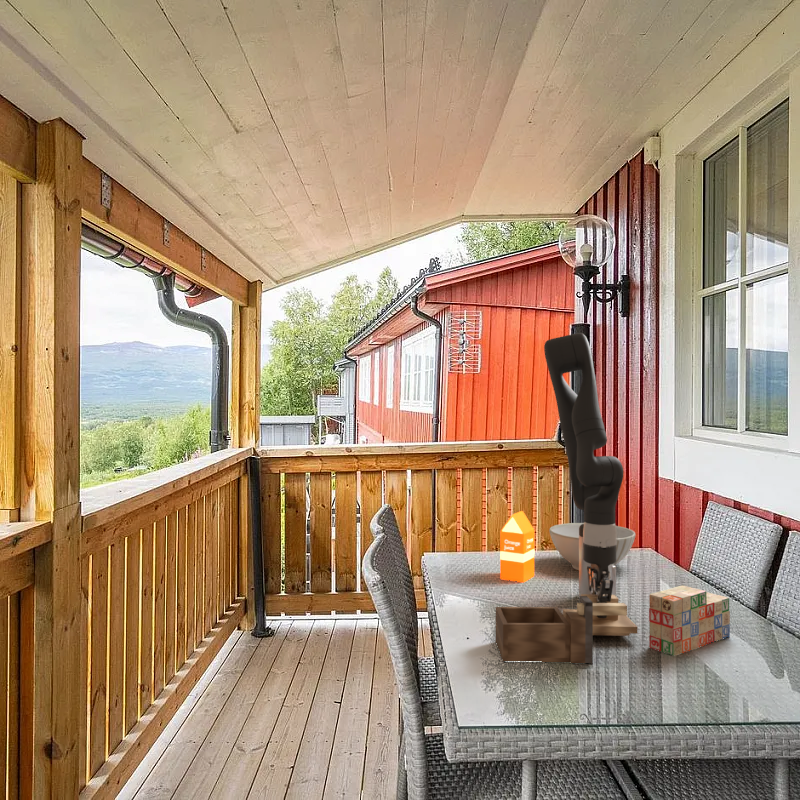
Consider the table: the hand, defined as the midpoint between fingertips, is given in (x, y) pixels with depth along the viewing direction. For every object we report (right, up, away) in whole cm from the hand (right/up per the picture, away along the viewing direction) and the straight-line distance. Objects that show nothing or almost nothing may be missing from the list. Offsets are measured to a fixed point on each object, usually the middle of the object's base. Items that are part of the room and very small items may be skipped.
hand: (599, 614), depth 162 cm
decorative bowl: (+15, -4, +62) cm, 64 cm away
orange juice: (-11, -4, +50) cm, 51 cm away
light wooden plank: (-4, +5, -16) cm, 17 cm away
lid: (0, -3, 0) cm, 3 cm away
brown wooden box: (-16, -5, -11) cm, 20 cm away
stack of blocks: (+19, -5, -5) cm, 20 cm away
